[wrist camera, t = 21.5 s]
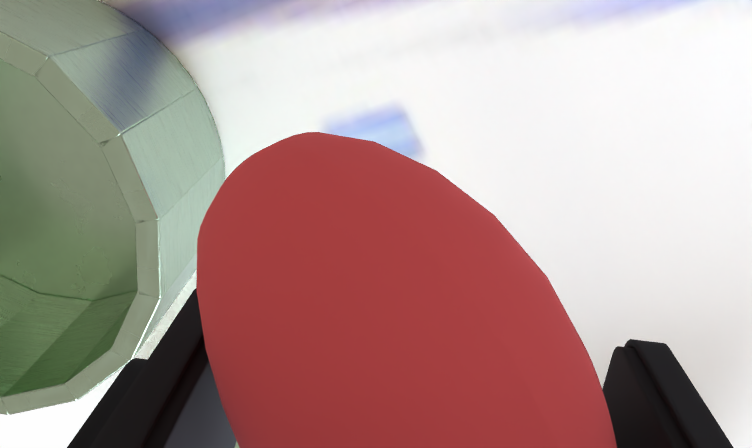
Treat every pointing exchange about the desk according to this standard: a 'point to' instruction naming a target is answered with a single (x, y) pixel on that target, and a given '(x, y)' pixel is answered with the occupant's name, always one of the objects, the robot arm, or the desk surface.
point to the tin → (92, 194)
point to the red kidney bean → (382, 311)
